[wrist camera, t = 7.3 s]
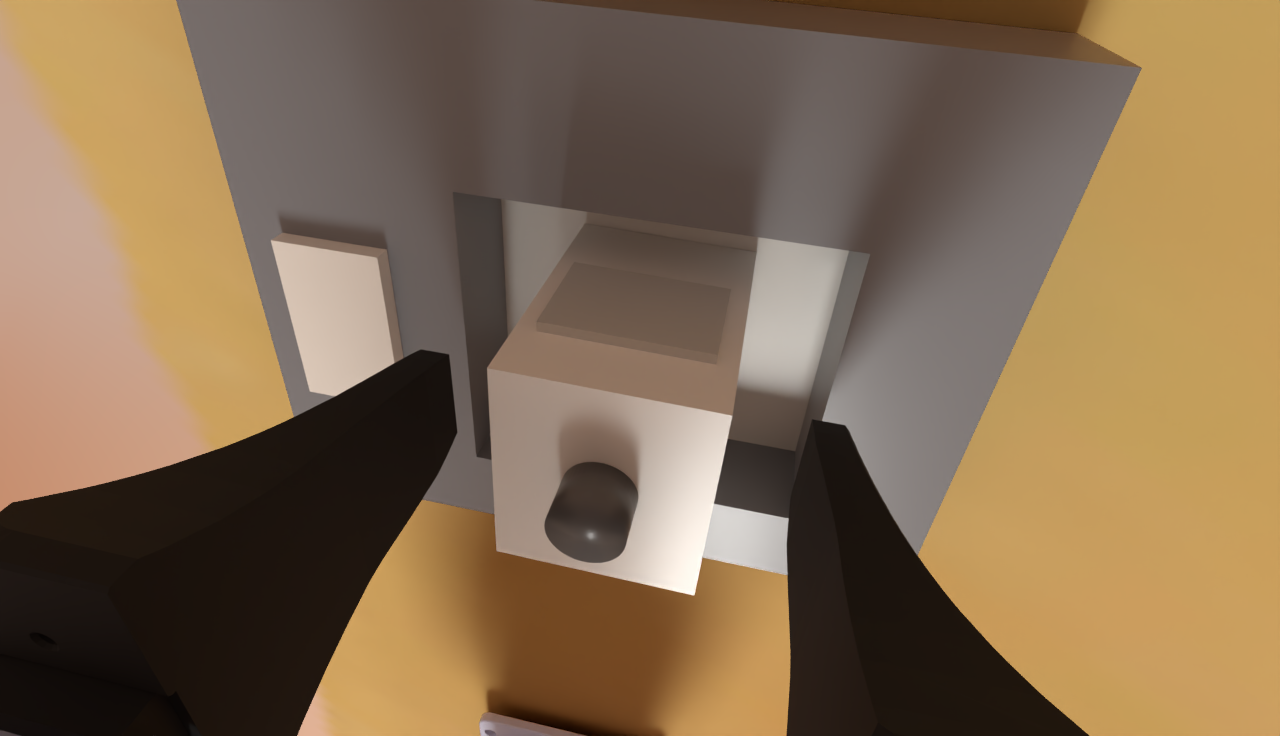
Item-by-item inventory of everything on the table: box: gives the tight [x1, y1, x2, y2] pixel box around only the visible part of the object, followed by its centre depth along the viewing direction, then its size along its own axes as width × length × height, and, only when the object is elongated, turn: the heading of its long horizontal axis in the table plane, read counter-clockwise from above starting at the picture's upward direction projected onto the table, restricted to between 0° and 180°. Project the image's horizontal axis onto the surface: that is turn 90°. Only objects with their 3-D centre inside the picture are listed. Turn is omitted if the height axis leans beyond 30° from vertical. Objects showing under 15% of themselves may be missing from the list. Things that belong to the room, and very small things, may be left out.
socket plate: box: [176, 0, 1141, 575], centre depth 16 cm, size 12×16×3 cm
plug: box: [487, 224, 757, 595], centre depth 14 cm, size 5×4×7 cm
